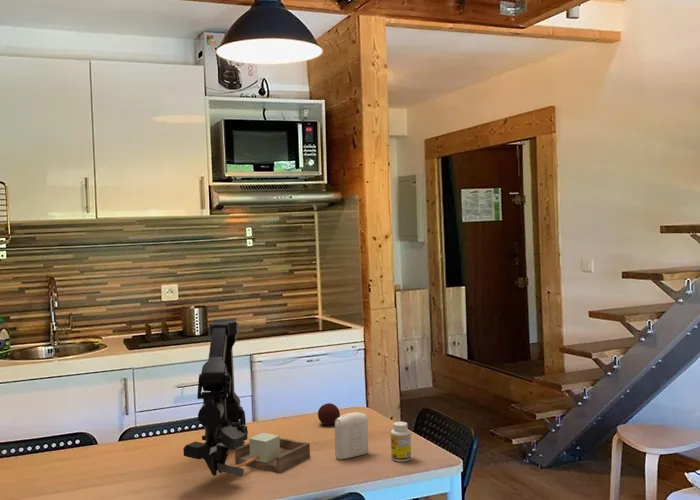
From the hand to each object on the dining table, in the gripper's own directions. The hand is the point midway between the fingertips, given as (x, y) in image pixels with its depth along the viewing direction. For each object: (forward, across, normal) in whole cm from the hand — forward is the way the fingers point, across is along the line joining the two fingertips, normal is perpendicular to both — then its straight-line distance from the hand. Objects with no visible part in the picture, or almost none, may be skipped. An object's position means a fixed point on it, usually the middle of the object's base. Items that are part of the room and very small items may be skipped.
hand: (217, 474), depth 181 cm
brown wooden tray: (+2, +19, -4) cm, 19 cm away
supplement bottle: (+2, +37, -36) cm, 51 cm away
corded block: (0, +9, -3) cm, 9 cm away
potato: (+2, +55, +2) cm, 55 cm away
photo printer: (+2, +33, -22) cm, 39 cm away
